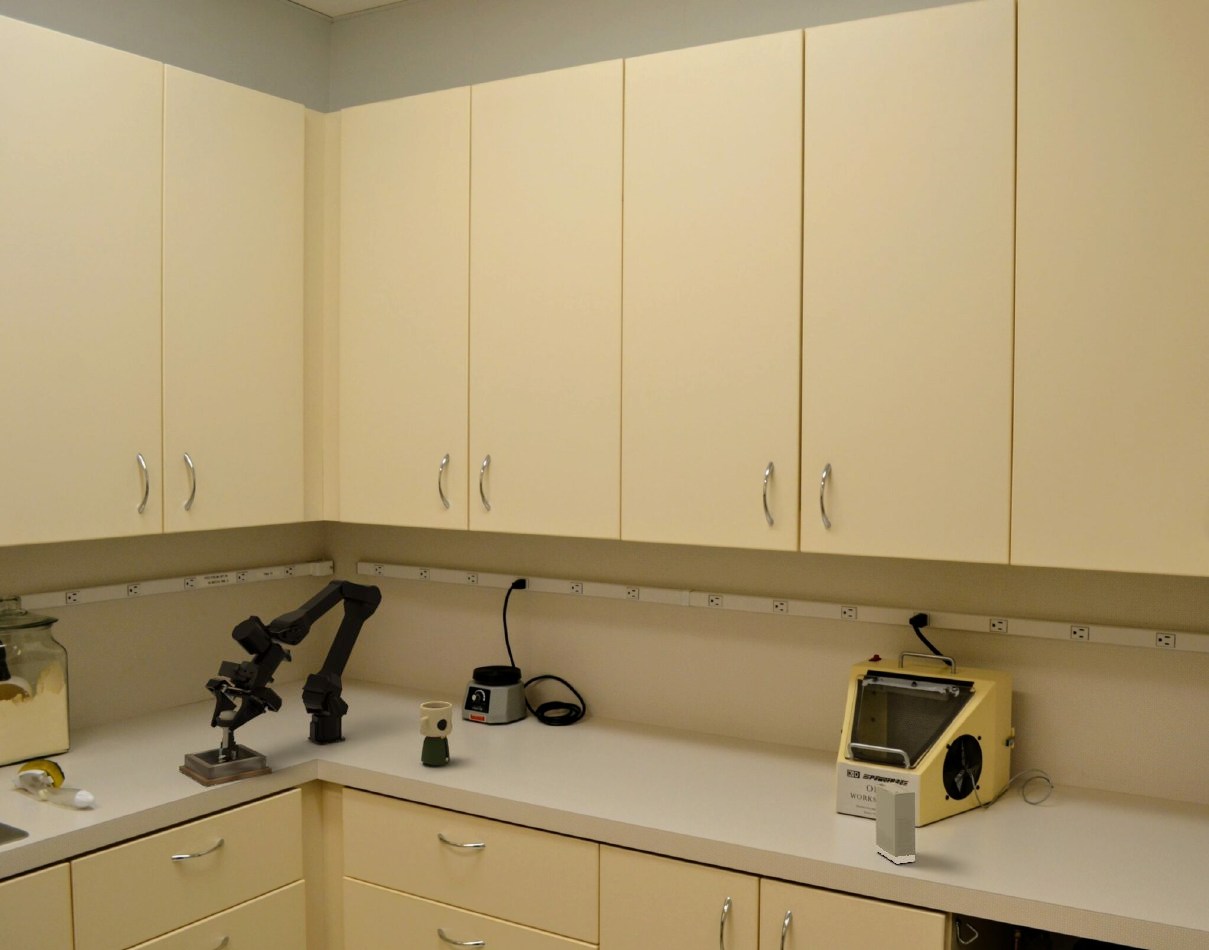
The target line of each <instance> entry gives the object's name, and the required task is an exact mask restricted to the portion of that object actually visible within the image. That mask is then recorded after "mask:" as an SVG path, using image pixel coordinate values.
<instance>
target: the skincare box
mask: <svg viewBox="0 0 1209 950" xmlns="http://www.w3.org/2000/svg"><path fill="white" fill-rule="evenodd" d="M874 787H875V791H874V792H875V794H874V795H875V846H876V845H878V846H879V847H880V848H882V849H883V850H884V851H886V852H888V853H889V854H891V855H893V856H895V857H898V856H906V855H907V856H909V855H915V856H916V803H915V802H916V792H915V791H913V790H911V789H909V788H907V787H904V786H902V785H901V784H899V783H897V782H895V781H893V782H885V783H884V782H883V783H878V784H875V786H874Z"/></svg>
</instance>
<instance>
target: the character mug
mask: <svg viewBox="0 0 1209 950" xmlns="http://www.w3.org/2000/svg"><path fill="white" fill-rule="evenodd" d="M452 717H453V704H452V703H451V702H447V701H439V700H437V701H427V702H423V703H421V704H420V707H419V734H420V735H421V736H425V737H424V740H423V742H422V749H421V755H420V756H421V757H420V761H421V762H422V763H423V764H424V763H425V764H428V765H430V764H431V765H430V766H441V765H445V764H446V765H447V762H448V763H450V761H451V759H450V758H451V757H450V747H449V740H448V737H447V736H449V735H451V733H452V732H453V723H452V719H453V718H452Z"/></svg>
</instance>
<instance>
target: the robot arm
mask: <svg viewBox="0 0 1209 950" xmlns="http://www.w3.org/2000/svg"><path fill="white" fill-rule="evenodd" d="M382 598H383V596H382V593H381V589H380V588H379V587H378V586H377V585H375V584H363V583H354V582H351V581H350V580H348V579H332V580H330V581H329V583H328V585H326V586H325V587H324V588H323V589H321V590H320V591H319V592H317V593H316V594H315V595H314V596H312V597H311V598H310V599H309V600H307V601H306V602H305V603H304V604H302V605H301V606H300V607H298V608H297V609H295V610H293V611H289V612H286V613H283V614H281V615H280V616H277V617H275V618H274V619H272V620H271V622H270V623H269V624H266V625H265V624H264V622H263V621H262V620H261V618H260V617H259V616H258V615H250V616H249V618H248V619H244V620H243V621H241V622H240V623H238V624H237V625H235V627H234V628H232V632H231V637H232V640H233V641H235V642H236V643H237V645H239V646H240V647H241V648H242V649H243V650H244V652H246V653H247V654H248V655H250V656H252V658H251V660H250V661H247V660H243V661H242V662H241V663H237V662H233V661H226V660H222V661H221V664H220V667H219V669H218V672H217V676H219V677H225V678H228V679H229V680H228V681H229V682H230V683H229V682H228V681H227V679H223V678H219V677H213V678H210V679H208V681H207V683H206V684H205V686H204V687H205V688H206V690H208V691H209V692H210V693H211V694H212V695H213V696H214V697H215V699H216V700H215V701H216V703H215V707H214V710H213V715H212V719H211V722H210V727H211V728H213V729H214V728H217V727H218V726H217V721H216V717H217V716H220V713H221V712H223V711H235V709H236V708H238V705H237V704H236V703H235V702H234V701H235V700H236V698H240V699H241V705H240V707H239V709H238V710H237V714H236V715H235V717H234V719H233V720H232V722H231V724H230V726H229V728H228V730H229V731H231V732H233V731H234V732H235V731H236V730H237V729H239V728H240V727H242V726H244V725H245V724H247V723H249V722H250V721H251V720H254V719H255V718H257V717H259V716H260V715H262V714H267V711H268V712H272V713H278V712H279V711H280V709H281V707H282V706H283V698H282V697H280V696H279V694H277V693H276V691H275V690H274V689H272V687H267V685H268V684H273V683H274V681H275V679H274V678H273V676H274V674H275V673H276V671H277V669H279V666H280V665H281V664H282V662H286V663H291V662H292V661H293V658H292V655H291V649H287V648H284V647H283V646H282V645H287V646H298V645H300V643H302V641H303V640H304V639H305V638H306V637H307V636H308V634H310V630H311V627H312V626H313V625H314V624H315V622H317V621H318V620H319V619H320V618H322V617H323V616H324V615H325V614H326V613H328V612H329V611H331V609H333V608H334V607H335V606H336V605H337V604H339V603H340V602H341V601H342V600H343V603H342V604H343V614H344V616H343V618H342V620H341V623H340V625H339V627H338V629H337V632H336V634H335V637H334V639H333V641H332V643H331V646H330V648H329V650H328V652H327V654H326V655H327V656H326V657H325V660H324V662H323V664H322V667H321V668H320V670H319V671H318V672H317V673H309V675H308V676H307V679H306V681H305V684H304V685H303V687H302V688H301V690H303V691H302V694H301V699H302V703H303V705H304V709H305V711H306V714H308V715H310V714H311V720H310V722H309V736H308V737H307V740H309V741H311V742H312V743H316V744H318V745H321V746H322V745H326V744H331V743H337V742H341V741H345V740H346V737H344V736H342V735H343V733H342V732H343V731H342V728H343V725H342V724H343V723H342V722H343V721H342V720H343V719H342V718H343V717H344V716H346V715H347V713H348V712H349V711H348V709H349V707H350V706H349V704H348V703H347V702H346V701H345V700H344V699H343V698H342V697H341V696H342V692H343V683H342V676H343V673H344V671H345V668H346V666H347V663H348V661H349V658H350V656H351V654H352V652H353V649H354V647H355V644H356V641H357V639H358V637H359V635H360V633H361V631H362V630H361V629H362V627H363V625H364V623H365V622H366V621H367V620H368V619H369V618H371V617H372V616H373V615H374V614H375V612H376V611H377V609H378V607H379V606H380V604H381V601H382ZM232 684H233V685H232ZM266 708H267V710H266ZM336 741H337V742H336Z"/></svg>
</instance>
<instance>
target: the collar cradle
mask: <svg viewBox="0 0 1209 950" xmlns="http://www.w3.org/2000/svg"><path fill="white" fill-rule="evenodd" d="M220 749H221V748H220V747H217V748H213V749H206V750H202V751H197V752H192V753H187V754H186V753H185V754H184V759H183V760H184V762H183V763H184V765H183V764H182V765H179V766H178V771H179V770H180V771H182V772H183V773H182V772H181V773H182V774H184V773H185V774H187V775H188V776H187V775H186V776H187V777H189V776H190V777H192V778H193V779H192V778H191V779H192V780H194V779H195V780H197V781H198V782H197V781H196V782H197V783H199V782H200V783H201V784H200V783H199V784H200V785H202V784H203V786H204V787H205V786H206V787H207V786H208V787H212V785H213V786H216V785H215V784H217V785H221V783H222V784H226V782H227V783H231V782H235V780H236V781H240V780H241V781H242V780H244V779H249V778H254V777H259V776H264V775H268V774H272V773H273V772H272V767H270V766H268V765H267V756H266V755H265V754H263V753H261V752H258V751H256V750H254V749H252V748H250V747H248V746H246V745H244V744H242V743H239V744H238V756H237V757H236V758H235V759H231V760H230V761H229V762H222V763H219V750H220ZM180 771H179V772H180ZM185 774H184V775H185ZM190 777H189V778H190ZM195 780H194V781H195Z"/></svg>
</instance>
